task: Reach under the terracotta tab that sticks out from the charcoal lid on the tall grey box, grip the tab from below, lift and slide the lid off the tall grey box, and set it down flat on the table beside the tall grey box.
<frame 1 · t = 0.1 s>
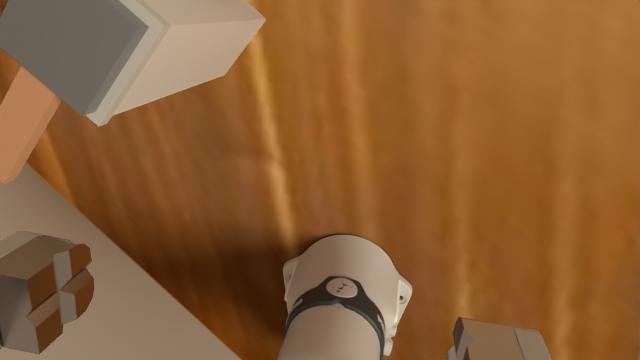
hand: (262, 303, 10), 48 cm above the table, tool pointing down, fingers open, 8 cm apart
tall grey box: (217, 22, 56), on the table
lid: (76, 32, 32), point 26 cm above the table, touching tall grey box
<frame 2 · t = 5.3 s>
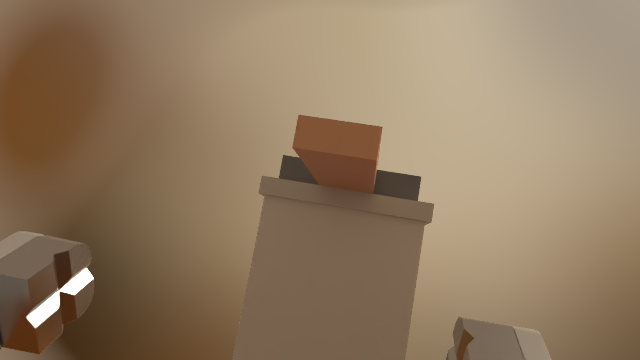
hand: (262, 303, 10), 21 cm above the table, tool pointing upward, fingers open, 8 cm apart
lid: (349, 199, 29), point 26 cm above the table, touching tall grey box
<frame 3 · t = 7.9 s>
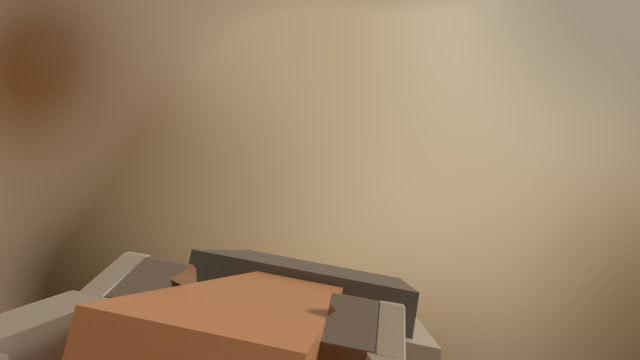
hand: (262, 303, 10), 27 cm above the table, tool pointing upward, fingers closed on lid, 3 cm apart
lid: (308, 301, 19), point 26 cm above the table, touching gripper, tall grey box
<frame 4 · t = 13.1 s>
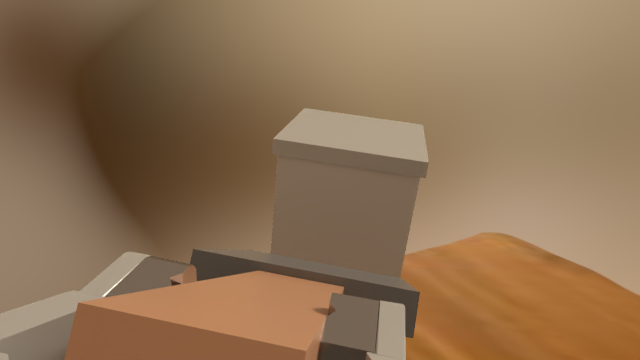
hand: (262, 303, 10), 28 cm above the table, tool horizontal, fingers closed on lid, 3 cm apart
lid: (309, 301, 19), point 22 cm above the table, tilted 30°, touching gripper
when the fingers open (5 cm above the table, at t = 17.4 s): lid drops 1 cm, on the table.
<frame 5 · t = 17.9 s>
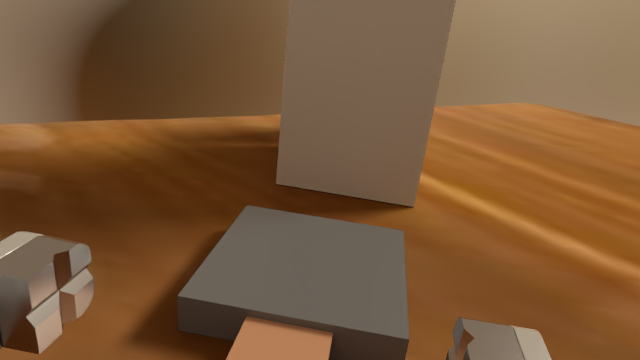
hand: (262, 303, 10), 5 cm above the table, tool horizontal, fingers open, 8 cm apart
tall grey box: (351, 171, 33), on the table
lid: (306, 287, 19), on the table
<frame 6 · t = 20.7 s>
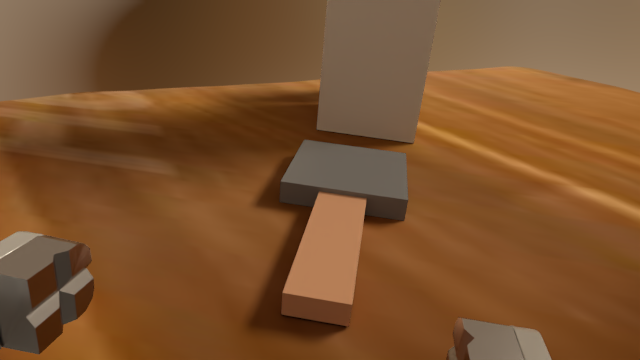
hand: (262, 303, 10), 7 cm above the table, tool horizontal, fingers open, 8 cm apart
tall grey box: (368, 121, 45), on the table
lid: (347, 185, 32), on the table
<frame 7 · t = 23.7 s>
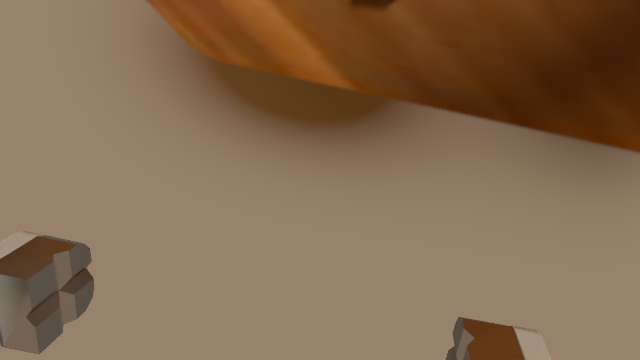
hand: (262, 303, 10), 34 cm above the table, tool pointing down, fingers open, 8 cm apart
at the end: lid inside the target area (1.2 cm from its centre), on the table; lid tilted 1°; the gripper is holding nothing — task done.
